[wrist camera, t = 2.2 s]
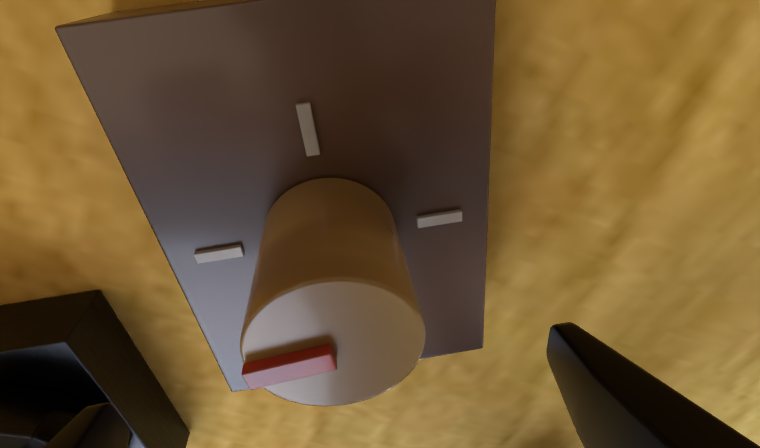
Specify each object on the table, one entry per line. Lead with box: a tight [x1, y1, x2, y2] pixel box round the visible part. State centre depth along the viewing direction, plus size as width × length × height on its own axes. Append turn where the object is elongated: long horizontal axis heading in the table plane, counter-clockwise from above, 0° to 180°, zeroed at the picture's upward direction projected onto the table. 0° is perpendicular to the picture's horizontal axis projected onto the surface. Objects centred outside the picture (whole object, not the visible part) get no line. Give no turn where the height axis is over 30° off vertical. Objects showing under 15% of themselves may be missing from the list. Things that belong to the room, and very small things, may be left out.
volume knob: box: [240, 178, 426, 406], centre depth 11 cm, size 4×4×5 cm
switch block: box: [0, 290, 190, 448], centre depth 17 cm, size 10×8×4 cm
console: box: [55, 0, 496, 392], centre depth 14 cm, size 13×10×3 cm
